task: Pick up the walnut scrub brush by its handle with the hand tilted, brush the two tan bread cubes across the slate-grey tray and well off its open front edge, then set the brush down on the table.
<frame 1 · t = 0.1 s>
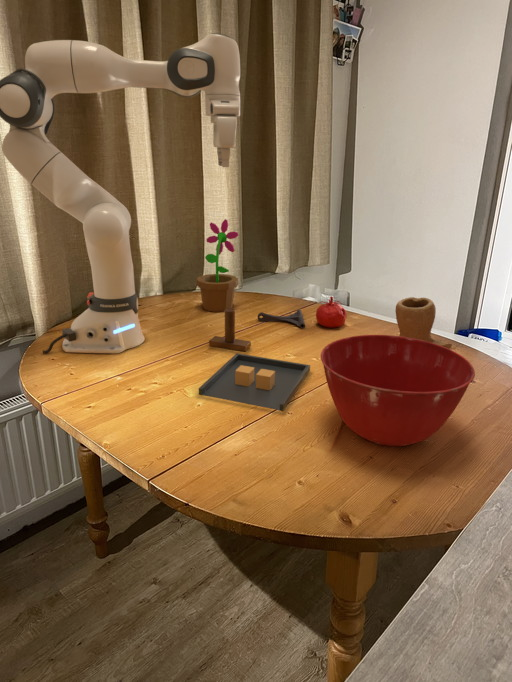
hand: (223, 166, 131), 48 cm above the table, tool pointing down, fingers open, 8 cm apart
bread cube B: (244, 382, 119), point 1 cm above the table, touching tray
flowerpot: (217, 307, 176), on the table
mixing bowl: (386, 428, 102), on the table
bread cube A: (265, 386, 117), point 1 cm above the table, touching tray
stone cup: (417, 351, 140), on the table
dark grey scraper: (280, 321, 163), on the table
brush: (229, 349, 140), on the table
tray: (257, 384, 119), on the table
pomegranate: (330, 325, 160), on the table
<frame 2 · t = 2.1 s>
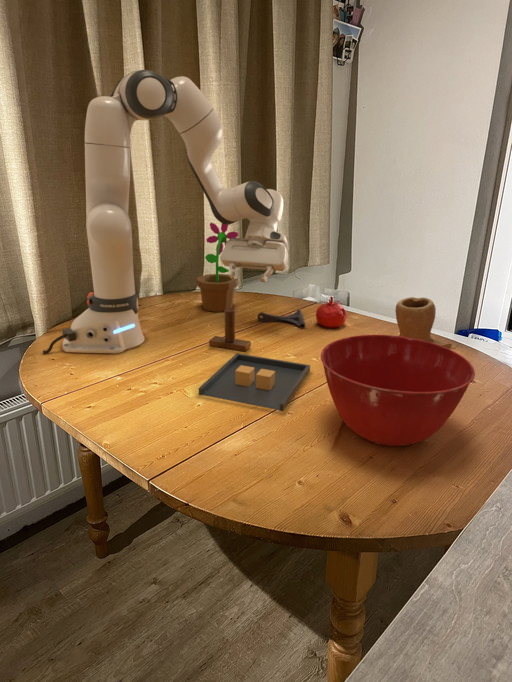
hand: (247, 279, 144), 17 cm above the table, tool tilted 45°, fingers open, 8 cm apart
nothing on the table moved.
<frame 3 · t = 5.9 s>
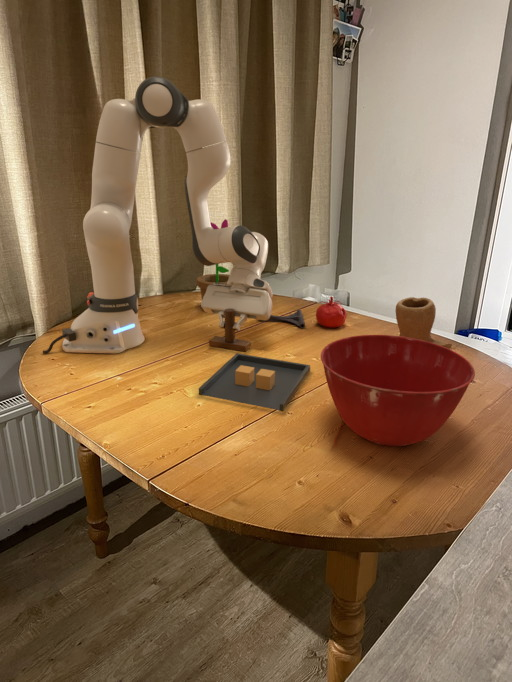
hand: (228, 328, 137), 6 cm above the table, tool tilted 45°, fingers closed on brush, 3 cm apart
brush: (229, 349, 140), on the table, touching gripper
everything else where it was.
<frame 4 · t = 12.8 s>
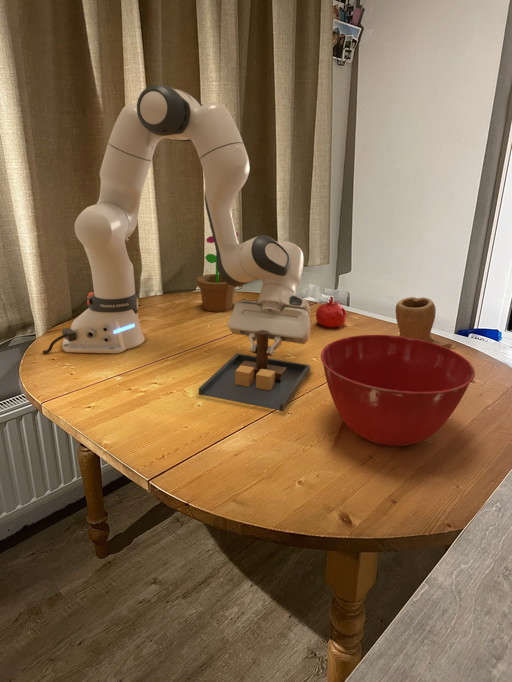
hand: (261, 353, 119), 7 cm above the table, tool tilted 45°, fingers closed on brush, 3 cm apart
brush: (261, 376, 122), point 1 cm above the table, touching gripper, tray
everything else where it was.
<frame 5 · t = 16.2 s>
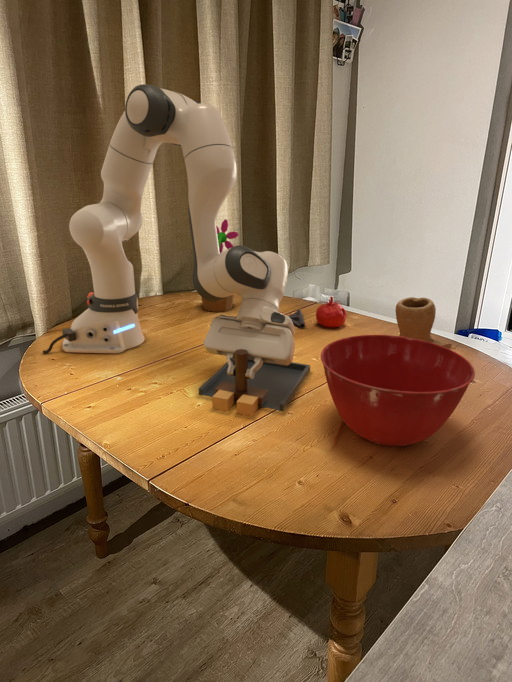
hand: (239, 376, 107), 7 cm above the table, tool tilted 45°, fingers closed on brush, 3 cm apart
bread cube B: (223, 408, 108), on the table, touching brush
bread cube A: (247, 413, 106), on the table, touching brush
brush: (241, 399, 110), point 1 cm above the table, touching bread cube A, bread cube B, gripper
everything else where it was.
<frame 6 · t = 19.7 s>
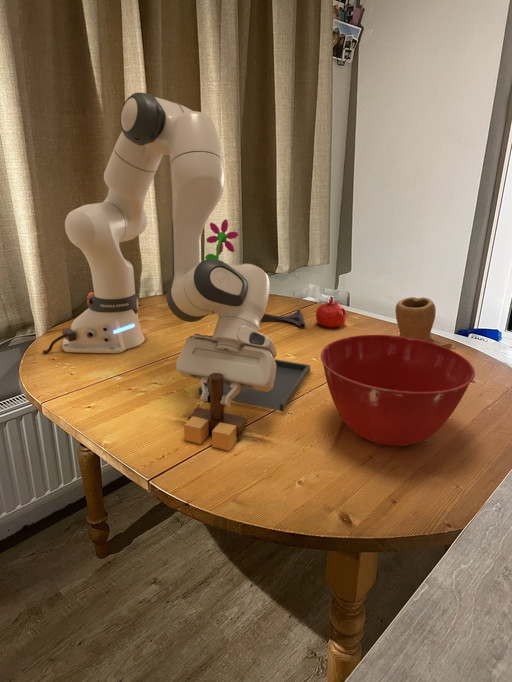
hand: (214, 403, 96), 7 cm above the table, tool tilted 45°, fingers closed on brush, 3 cm apart
bread cube B: (196, 437, 97), on the table, touching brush
bread cube A: (224, 444, 96), on the table, touching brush
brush: (217, 427, 100), point 1 cm above the table, touching bread cube A, bread cube B, gripper
everything else where it was.
when the fingers open (7 cm above the table, at t = 19.9 s): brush stays where it is, on the table.
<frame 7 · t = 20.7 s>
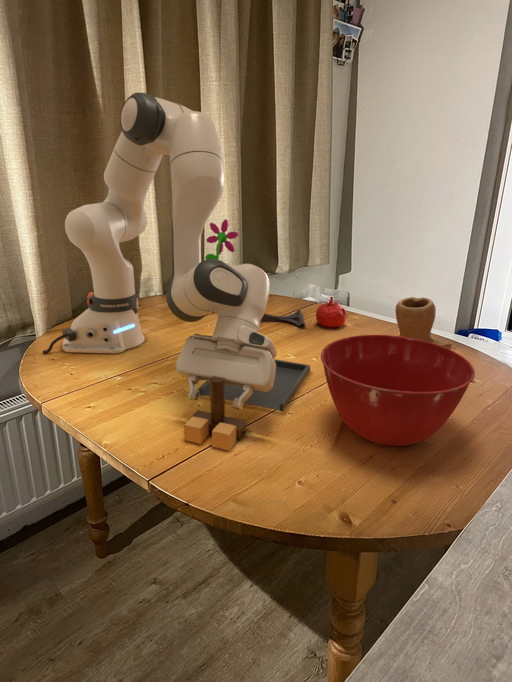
hand: (214, 403, 96), 7 cm above the table, tool tilted 45°, fingers open, 8 cm apart
bread cube B: (196, 437, 97), on the table
bread cube A: (224, 444, 95), on the table
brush: (218, 430, 100), on the table
everything else where it was.
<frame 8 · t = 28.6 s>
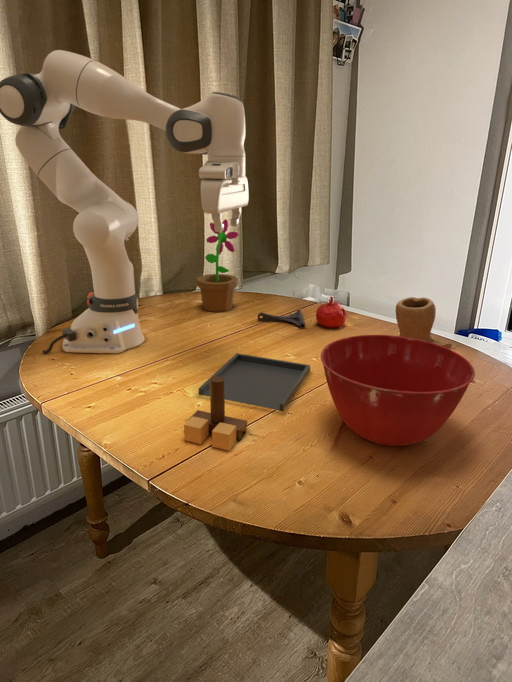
hand: (227, 228, 123), 34 cm above the table, tool pointing down, fingers open, 8 cm apart
nothing on the table moved.
at the end: bread cube A on the table; bread cube B on the table; the gripper is holding nothing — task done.
